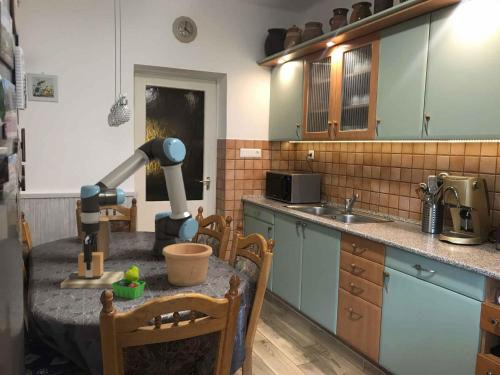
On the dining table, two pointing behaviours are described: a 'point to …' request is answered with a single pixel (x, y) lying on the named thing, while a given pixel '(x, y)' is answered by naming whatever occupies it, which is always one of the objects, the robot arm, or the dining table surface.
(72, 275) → the gray square block
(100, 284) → the birch board
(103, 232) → the wooden block
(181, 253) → the pottery
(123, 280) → the fruit basket
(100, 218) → the canister
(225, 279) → the dining table surface
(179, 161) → the robot arm
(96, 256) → the block
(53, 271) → the dining table surface
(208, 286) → the dining table surface
